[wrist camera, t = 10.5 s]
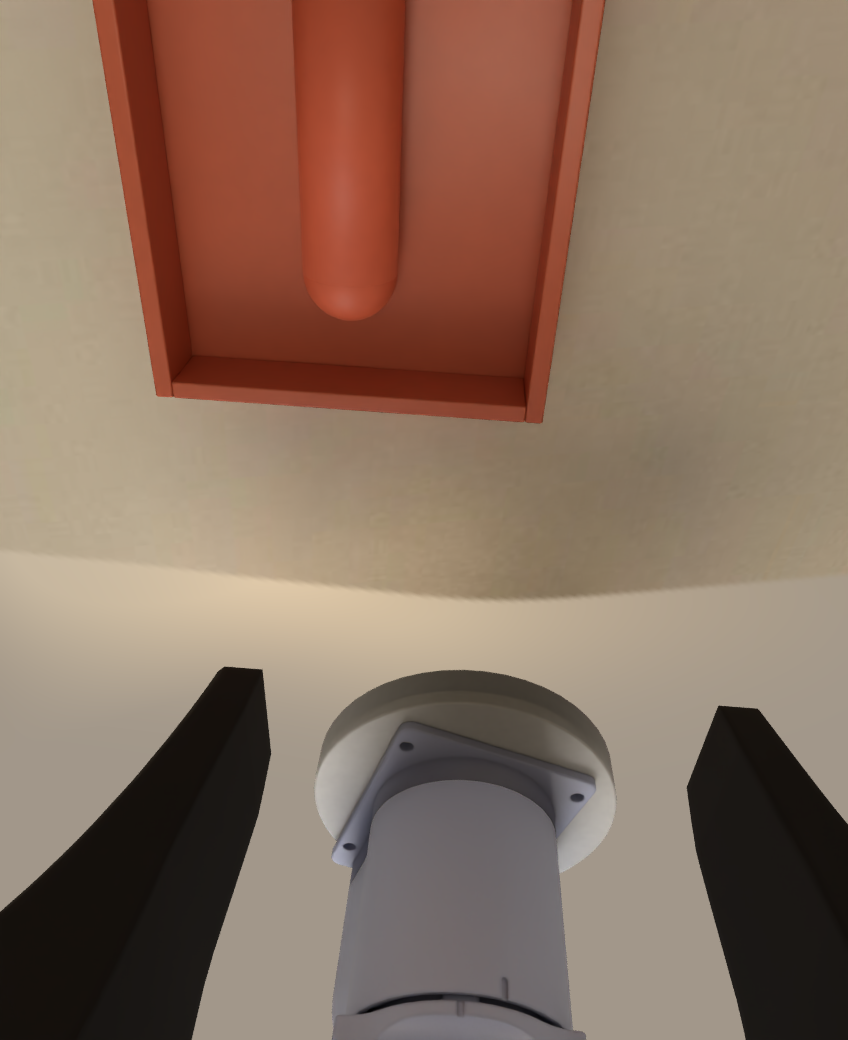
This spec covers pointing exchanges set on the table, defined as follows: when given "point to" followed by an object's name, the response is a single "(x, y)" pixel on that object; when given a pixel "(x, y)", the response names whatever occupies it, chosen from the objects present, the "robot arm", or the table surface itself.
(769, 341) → the table surface
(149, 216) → the red tray
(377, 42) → the red spoon
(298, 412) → the table surface
